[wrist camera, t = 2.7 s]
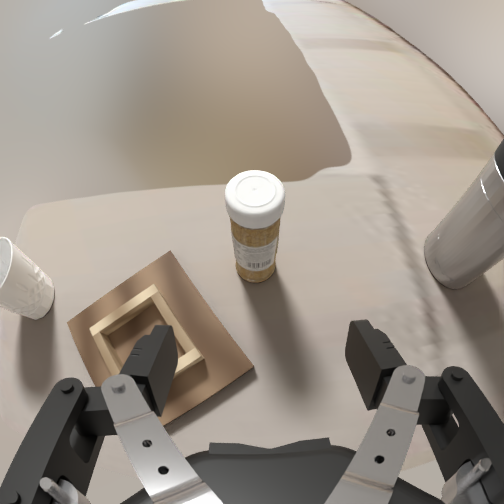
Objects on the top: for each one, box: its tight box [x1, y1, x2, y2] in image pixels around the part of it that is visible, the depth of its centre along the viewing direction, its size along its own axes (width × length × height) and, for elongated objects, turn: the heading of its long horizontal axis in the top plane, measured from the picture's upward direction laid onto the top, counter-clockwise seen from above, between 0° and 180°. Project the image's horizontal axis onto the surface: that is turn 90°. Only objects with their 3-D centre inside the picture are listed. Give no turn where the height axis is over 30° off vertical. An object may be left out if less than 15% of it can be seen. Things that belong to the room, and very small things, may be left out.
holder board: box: [67, 251, 254, 426], centre depth 27 cm, size 16×16×3 cm
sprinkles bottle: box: [225, 170, 285, 283], centre depth 27 cm, size 5×5×13 cm
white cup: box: [0, 237, 54, 320], centre depth 26 cm, size 8×8×10 cm
